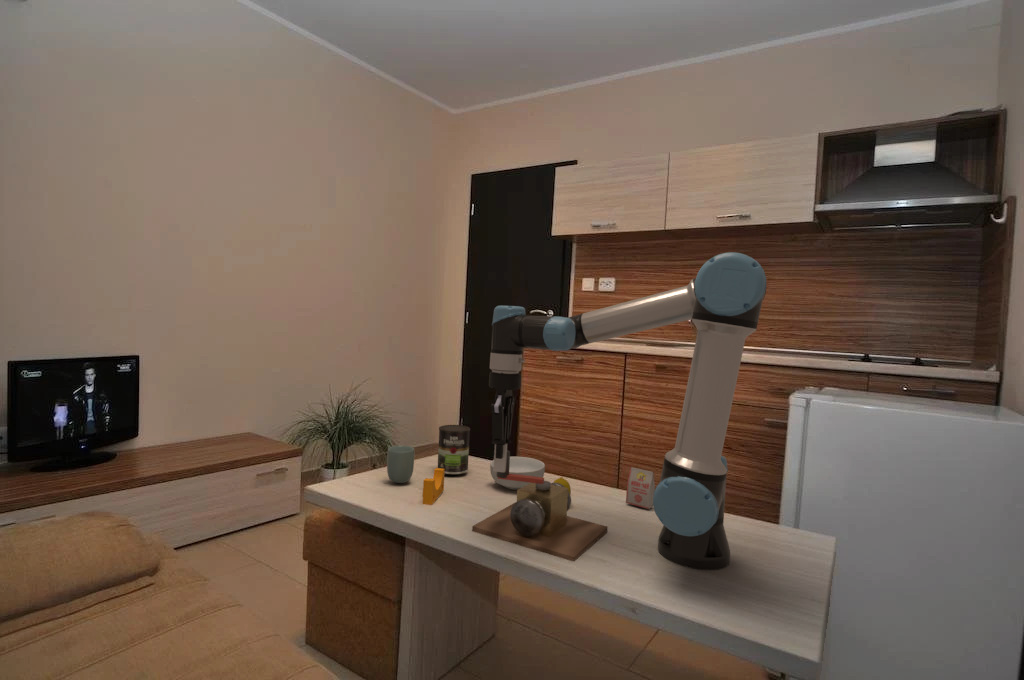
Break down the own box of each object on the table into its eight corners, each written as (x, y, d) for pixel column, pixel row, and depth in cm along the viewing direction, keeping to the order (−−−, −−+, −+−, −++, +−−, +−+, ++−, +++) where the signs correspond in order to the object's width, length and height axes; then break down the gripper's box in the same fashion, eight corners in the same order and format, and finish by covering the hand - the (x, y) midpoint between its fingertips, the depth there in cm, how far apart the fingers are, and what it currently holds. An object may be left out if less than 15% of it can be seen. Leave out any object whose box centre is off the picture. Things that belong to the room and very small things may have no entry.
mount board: (607, 532, 123) (607, 526, 123) (573, 564, 106) (573, 557, 105) (515, 507, 136) (515, 502, 136) (472, 532, 119) (472, 526, 119)
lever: (551, 486, 122) (553, 454, 121) (549, 491, 118) (551, 458, 118) (498, 480, 125) (499, 449, 124) (494, 484, 121) (496, 452, 121)
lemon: (567, 511, 136) (569, 481, 135) (547, 507, 137) (549, 478, 137) (571, 504, 141) (573, 476, 141) (552, 501, 143) (554, 473, 142)
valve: (572, 520, 125) (574, 484, 125) (542, 543, 112) (544, 502, 111) (539, 511, 130) (541, 477, 130) (507, 532, 116) (509, 493, 116)
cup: (418, 480, 155) (419, 448, 154) (399, 487, 148) (401, 453, 148) (399, 475, 159) (401, 444, 158) (381, 481, 152) (382, 448, 152)
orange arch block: (429, 489, 148) (430, 467, 148) (443, 490, 147) (444, 468, 147) (416, 503, 136) (417, 479, 136) (431, 505, 136) (432, 481, 135)
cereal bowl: (500, 474, 165) (501, 453, 165) (549, 482, 160) (550, 460, 160) (480, 490, 149) (482, 466, 149) (535, 499, 144) (536, 474, 143)
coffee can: (468, 474, 163) (470, 431, 162) (436, 474, 162) (438, 430, 162) (468, 465, 173) (470, 425, 173) (438, 465, 172) (439, 424, 172)
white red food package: (631, 499, 147) (633, 465, 147) (653, 505, 143) (655, 470, 143) (625, 502, 144) (627, 468, 144) (648, 509, 140) (650, 473, 140)
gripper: (514, 374, 111) (507, 480, 112) (527, 371, 124) (521, 466, 125) (481, 372, 113) (475, 476, 114) (497, 368, 126) (492, 462, 126)
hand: (499, 471), depth 119 cm, fingers closed
